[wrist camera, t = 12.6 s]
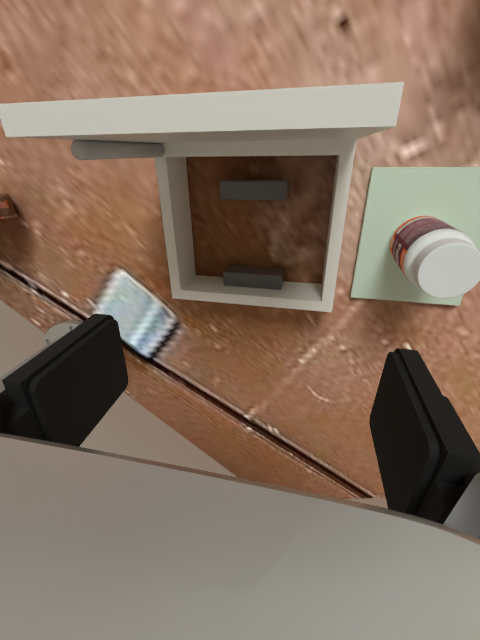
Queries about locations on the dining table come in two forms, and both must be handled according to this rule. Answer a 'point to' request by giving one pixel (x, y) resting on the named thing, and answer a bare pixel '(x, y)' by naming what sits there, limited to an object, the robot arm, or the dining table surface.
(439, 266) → the pill bottle
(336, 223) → the equipment case
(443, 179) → the mat
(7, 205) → the tin
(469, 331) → the dining table surface
